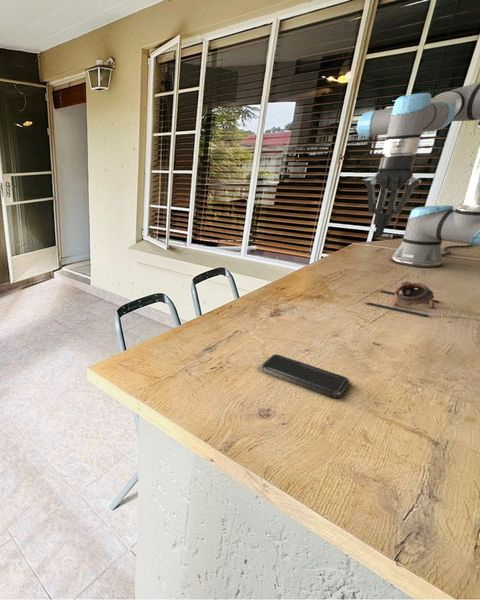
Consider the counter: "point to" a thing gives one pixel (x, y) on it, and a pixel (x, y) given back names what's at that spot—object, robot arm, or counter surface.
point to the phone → (306, 375)
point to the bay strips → (398, 309)
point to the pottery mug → (413, 294)
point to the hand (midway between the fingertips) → (378, 235)
